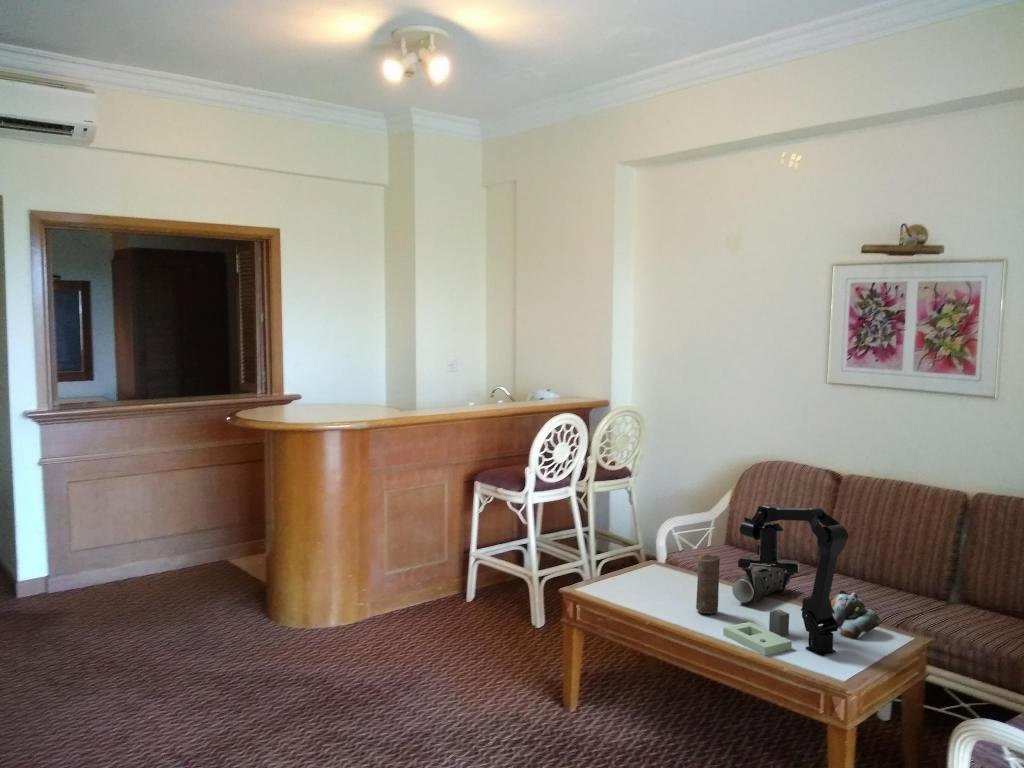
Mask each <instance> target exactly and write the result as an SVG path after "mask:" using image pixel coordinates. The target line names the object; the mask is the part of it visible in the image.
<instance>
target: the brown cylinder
mask: <svg viewBox="0 0 1024 768" xmlns="http://www.w3.org/2000/svg"><path fill="white" fill-rule="evenodd" d="M720 559H721V558H720V555H717V554H712V553H711V554H701V555H699V556H698V563H697V585H696V587H697V588H696V601H695V602H696V603H695V604H696V605H695V608H696V610H697V611H698V612H699V613H700V614H705V615H707V614H710V615H711V614H715V613H718V610H719V590H720V589H719V585H720V583H719V582H720V564H721V563H720V562H721V560H720Z"/></svg>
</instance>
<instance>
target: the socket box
mask: <svg viewBox="0 0 1024 768" xmlns="http://www.w3.org/2000/svg"><path fill="white" fill-rule="evenodd" d="M722 630H723V631H722V632H723V636H724V637H726V638H728V639H730V640H732V641H734V642H737V643H738V644H741V645H743V646H744V647H747V648H748V649H751V650H753V651H755V652H757V653H759V654H761V655H763V656H767V655H768V656H770V655H772V654H777V653H781V652H786V651H790V650H792V648H793V647H792V645H793V644H792V643H793V642H792V640H790V639H788V638H786V637H785V636H782V637H781V636H779V635H777V634H775V633H773V632H770V631H769V629H766V628H764V627H761V626H760V625H757V624H755V623H752V622H751V621H747V622H744V623H743V622H742V623H738V624H737V623H736V624H734V625H729V626H723V628H722Z"/></svg>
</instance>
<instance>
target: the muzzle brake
mask: <svg viewBox="0 0 1024 768" xmlns="http://www.w3.org/2000/svg"><path fill="white" fill-rule="evenodd" d="M771 565H775V564H771ZM784 572H785V569H784V568H774V567H764V566H763V567H762V568H760V569H757V570H755V571H754V581H755V588H754V589H753V587H752V585H751V582H750V580H749V577H748V575H747V573H745V574H743V575H741V576H739V577H736V579H735V580H734V582H733V584H732V589H731V590H732V594H733V596H734V598H735V599H736V600H737V601H738V602H740V603H744V604H745V603H746V604H753V603H754V601H755V602H757V601H758V600H760V598H763V597H766V595H770V594H773V593H774V592H776V591H778V590H780V589H782V586H783V578H784ZM791 576H792V575H790V577H789V579H788V581H787V584H786V586H788V585H789V583H790V581H791ZM756 600H757V601H756ZM752 602H753V603H752Z"/></svg>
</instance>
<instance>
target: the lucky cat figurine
mask: <svg viewBox="0 0 1024 768" xmlns="http://www.w3.org/2000/svg"><path fill="white" fill-rule="evenodd" d="M829 601H830V603H831V606H832V615H833V617H834V618H835V620H836V622H837V623H838V625H839V627H838V630H840V631H841V634H842V635H843V636H844V637H846V638H849V639H850V638H851V639H854V638H855V640H856V639H858V638H861V637H863V636H865V635H866V634H867V633H869V632H870V631H872V630H874V629H875V628H877V627H878V626H880V625H881V624H882V621H881V619H880V617H879V616H878V614H877V613H876V612H875V611H874V610H873V609H871V608H866V605H865V603H864V602H863V600H861V599H860V597H858V595H857V593H856V592H852V593H851V594H849V593H847V592H846V591H845V590H839V593H838V594H836V596H834V597H833V599H831V598H829Z"/></svg>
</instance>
